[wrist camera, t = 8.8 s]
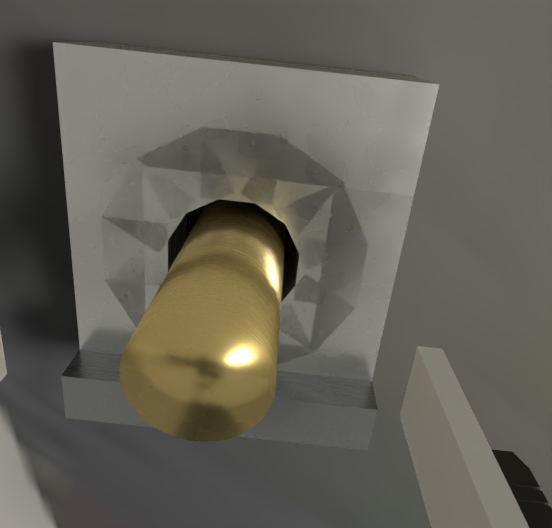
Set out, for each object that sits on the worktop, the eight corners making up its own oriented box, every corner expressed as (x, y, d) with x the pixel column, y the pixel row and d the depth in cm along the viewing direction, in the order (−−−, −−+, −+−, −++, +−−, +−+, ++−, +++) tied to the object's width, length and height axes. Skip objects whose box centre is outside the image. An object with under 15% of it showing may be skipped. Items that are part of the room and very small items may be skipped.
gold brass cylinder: (281, 273, 25) (268, 449, 15) (197, 264, 25) (122, 433, 14) (290, 192, 24) (284, 324, 13) (200, 182, 24) (116, 306, 13)
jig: (353, 372, 28) (366, 453, 22) (111, 346, 28) (66, 421, 22) (415, 76, 21) (455, 89, 16) (95, 41, 21) (23, 42, 16)
